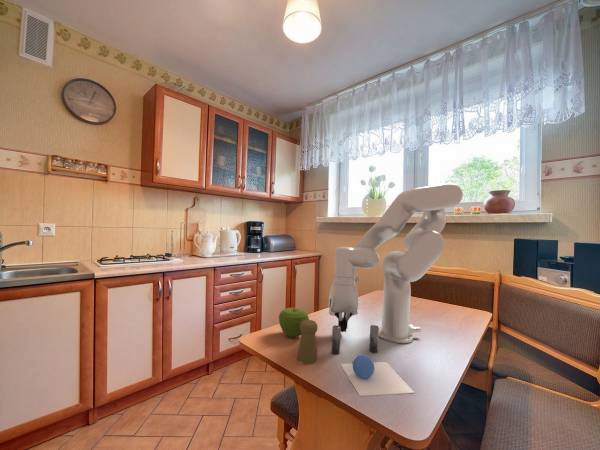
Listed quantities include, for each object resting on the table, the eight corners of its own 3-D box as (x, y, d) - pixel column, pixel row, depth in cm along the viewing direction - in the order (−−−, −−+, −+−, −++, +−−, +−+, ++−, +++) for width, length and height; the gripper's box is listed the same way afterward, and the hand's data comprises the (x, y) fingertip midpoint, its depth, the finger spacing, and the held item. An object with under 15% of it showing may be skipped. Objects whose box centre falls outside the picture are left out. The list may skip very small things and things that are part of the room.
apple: (314, 337, 92) (315, 309, 92) (291, 345, 85) (293, 314, 85) (293, 327, 100) (295, 301, 100) (271, 334, 93) (273, 306, 93)
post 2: (375, 349, 85) (376, 325, 85) (378, 353, 82) (380, 328, 82) (367, 349, 84) (369, 325, 85) (371, 353, 82) (372, 328, 82)
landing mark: (385, 362, 77) (385, 362, 77) (414, 393, 63) (414, 392, 63) (340, 364, 74) (340, 363, 74) (359, 396, 60) (359, 395, 60)
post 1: (338, 350, 83) (339, 325, 83) (340, 354, 80) (341, 328, 80) (330, 350, 82) (331, 325, 82) (332, 354, 80) (333, 328, 80)
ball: (377, 378, 65) (370, 381, 69) (376, 354, 68) (370, 358, 72) (355, 375, 65) (350, 378, 69) (355, 351, 68) (350, 355, 72)
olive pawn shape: (296, 353, 79) (298, 317, 80) (315, 353, 80) (317, 317, 80) (297, 363, 73) (299, 324, 74) (318, 363, 74) (320, 325, 74)
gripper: (359, 278, 100) (357, 326, 100) (322, 278, 98) (320, 327, 98) (367, 282, 93) (365, 334, 93) (327, 282, 90) (325, 335, 90)
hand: (342, 330), depth 95 cm, fingers closed
